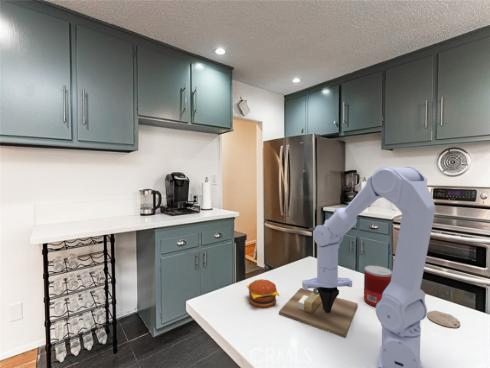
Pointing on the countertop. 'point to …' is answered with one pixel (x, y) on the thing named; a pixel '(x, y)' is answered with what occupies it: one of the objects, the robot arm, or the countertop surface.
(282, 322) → the countertop surface
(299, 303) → the white rectangular block
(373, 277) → the canned food
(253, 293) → the hamburger
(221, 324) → the countertop surface
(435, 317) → the flatbread
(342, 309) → the plate
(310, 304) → the bar
